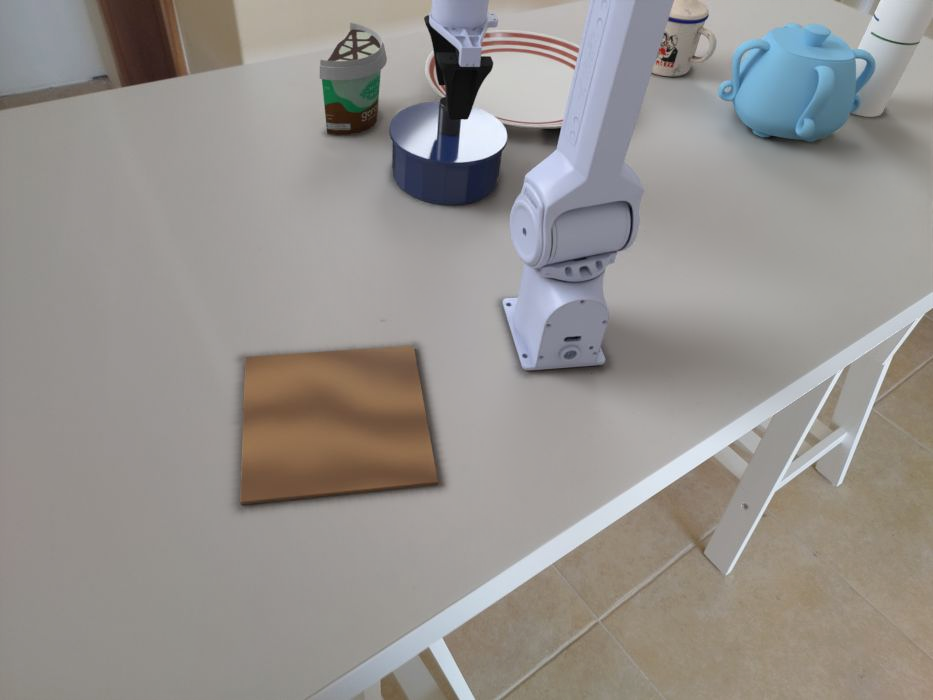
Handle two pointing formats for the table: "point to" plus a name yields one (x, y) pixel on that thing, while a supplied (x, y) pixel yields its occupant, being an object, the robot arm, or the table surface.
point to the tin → (444, 179)
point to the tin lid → (447, 135)
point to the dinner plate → (522, 78)
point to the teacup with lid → (683, 38)
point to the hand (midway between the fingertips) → (452, 100)
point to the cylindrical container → (890, 49)
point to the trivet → (333, 424)
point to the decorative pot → (796, 82)
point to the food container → (353, 81)
